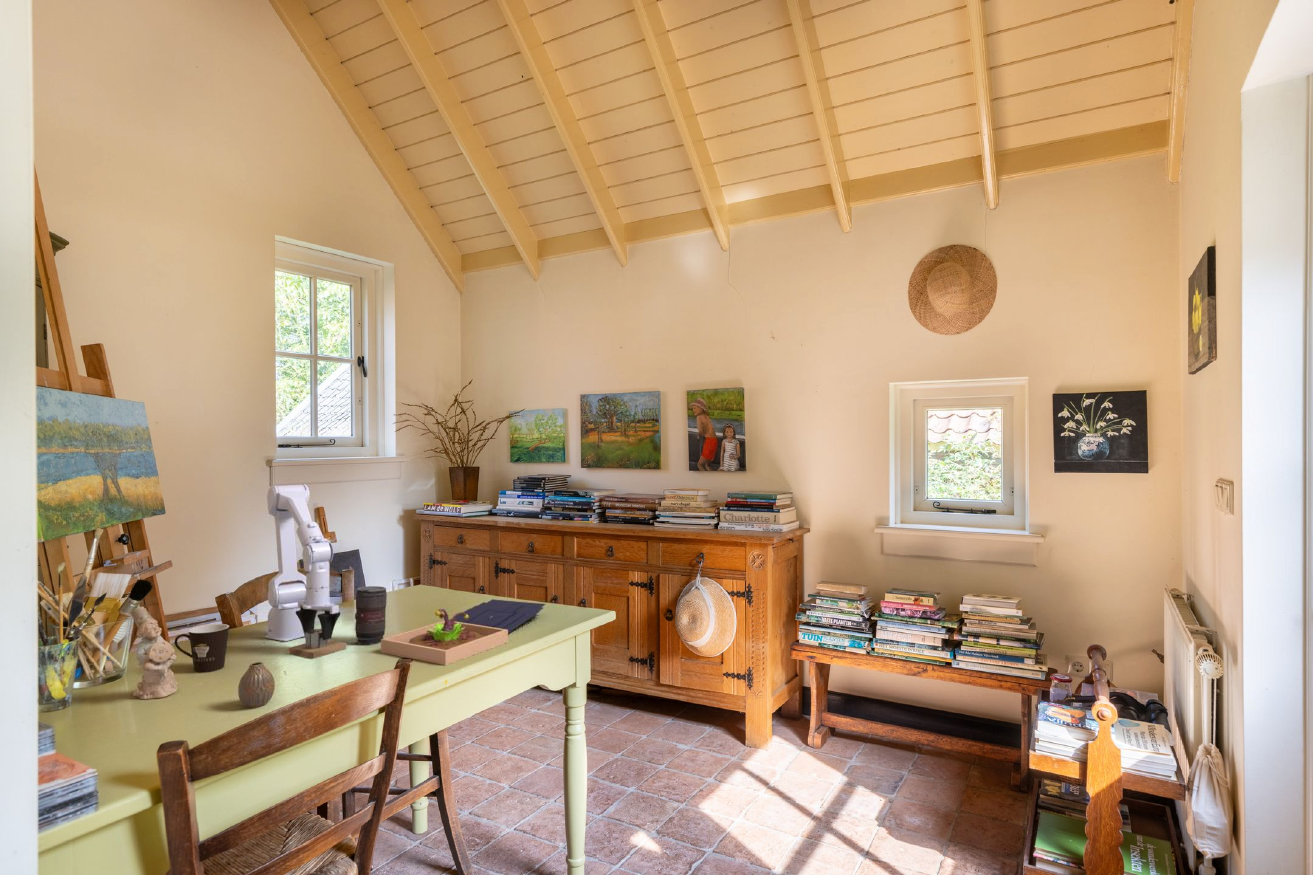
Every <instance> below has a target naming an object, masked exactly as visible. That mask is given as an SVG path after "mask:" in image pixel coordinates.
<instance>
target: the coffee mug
mask: <svg viewBox="0 0 1313 875" xmlns="http://www.w3.org/2000/svg"><path fill="white" fill-rule="evenodd" d="M229 630H230V625H228V624H226V623H225V624H224V623H218V624H217V623H216V624H215V623H214V624H204V625H200V626H199V625H198V626H196V627H192V628H191V629H188V634H186V633H182V634H179V635H178V636H176V637H175V639H174V646H175V648H176V649H177V650H178V651H180V652H181V653H183V654H184V655H185V656H188V657H189V658H191V659H192V664H193V665H192V666H193V671H194V673H197V674H198V673H199V674H201V673H211V672H216V671H220V670H222V669H223V668H224V667H225V661H226V653H227V646H228V639H229V638H228V637H229V632H230V631H229ZM182 637H185V638H187V639H188V640H189V644H190V651H191V653H190V652H187V651H186V650H184V649H183V648H181V646H179V645H178V640H179V638H182Z"/></svg>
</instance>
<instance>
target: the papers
mask: <svg viewBox="0 0 1313 875" xmlns="http://www.w3.org/2000/svg"><path fill="white" fill-rule="evenodd" d="M544 606H546V603H541V602H539V603H537V602H526V601H525V602H524V601H516V600H515V601H514V600H513V601H512V600H503V599H493V598H492V599H490V600H489V601H487V602H484V601H483V602H481V603H479V604H478V605H474V606H473V607H471V608H470V607H469V608H468V609H466V610H465V611H463V612H462V613H466V614H467V615H468V619H465V618H464V615H463V614H460V615H458V616H457V617H456V619H455V622H461V623H468V624H474V625H481V626H487V627H493V628H500V629H506V630H508V634H510V633H511V632H513V630H515V629H516V628H518V627H519V626H521V625H522V624H523V623H525V622H527V621H528V620H529V619H531V618H532V617H534V616H536V615H537V614H538V613H540V612H541V611H542V610H543V609H544ZM451 619H452V618H449V621H450V620H451Z"/></svg>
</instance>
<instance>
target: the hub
mask: <svg viewBox="0 0 1313 875" xmlns="http://www.w3.org/2000/svg"><path fill="white" fill-rule="evenodd" d="M315 630H321V632H315ZM304 637H305V643H304V644H305V647H306V648H309V649H314V648H322V647H325V646H327V645H328V640H329V639H327V640H323V638H322V629H321V627H320V628H314V629H312V630H308V631H306V632H305V636H304Z"/></svg>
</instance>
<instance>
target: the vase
mask: <svg viewBox="0 0 1313 875" xmlns="http://www.w3.org/2000/svg"><path fill="white" fill-rule="evenodd" d="M275 682H276V681H275V677H274V676H273V673H272V672H271V671H269V669H268V668H267V667H266V665H264V662H262V661H257V662H256V661H255V662H252V663H250V664H249V666H248V669H247V670H246V671H245V672H244V674H243V675H242V676H241V677H240V680H239V683H238V687H237V693H238V694H237V696H238V698H239V699H238V700H239V701H240V702H241V703H242V705H243V706H245V707H247V708H249V709H250V708H259V707H264V706H265V705H267V704H268V703H269V702H270V701H271V699H272V698H273V696H274V693H275V690H276V689H275V688H276V683H275Z"/></svg>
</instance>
